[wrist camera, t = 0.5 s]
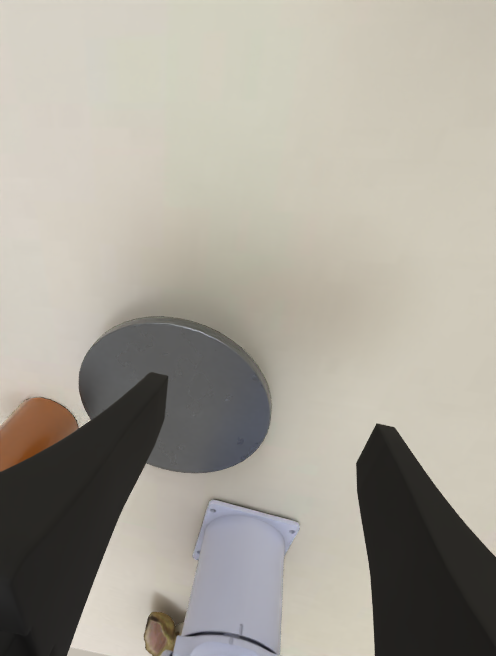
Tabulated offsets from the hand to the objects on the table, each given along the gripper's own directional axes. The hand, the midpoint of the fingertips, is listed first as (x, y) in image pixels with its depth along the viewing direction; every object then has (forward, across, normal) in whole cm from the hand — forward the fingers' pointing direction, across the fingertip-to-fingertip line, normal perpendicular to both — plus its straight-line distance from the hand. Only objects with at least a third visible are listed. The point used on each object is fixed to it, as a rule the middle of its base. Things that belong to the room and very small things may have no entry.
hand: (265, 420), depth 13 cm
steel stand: (+10, +5, +8) cm, 14 cm away
